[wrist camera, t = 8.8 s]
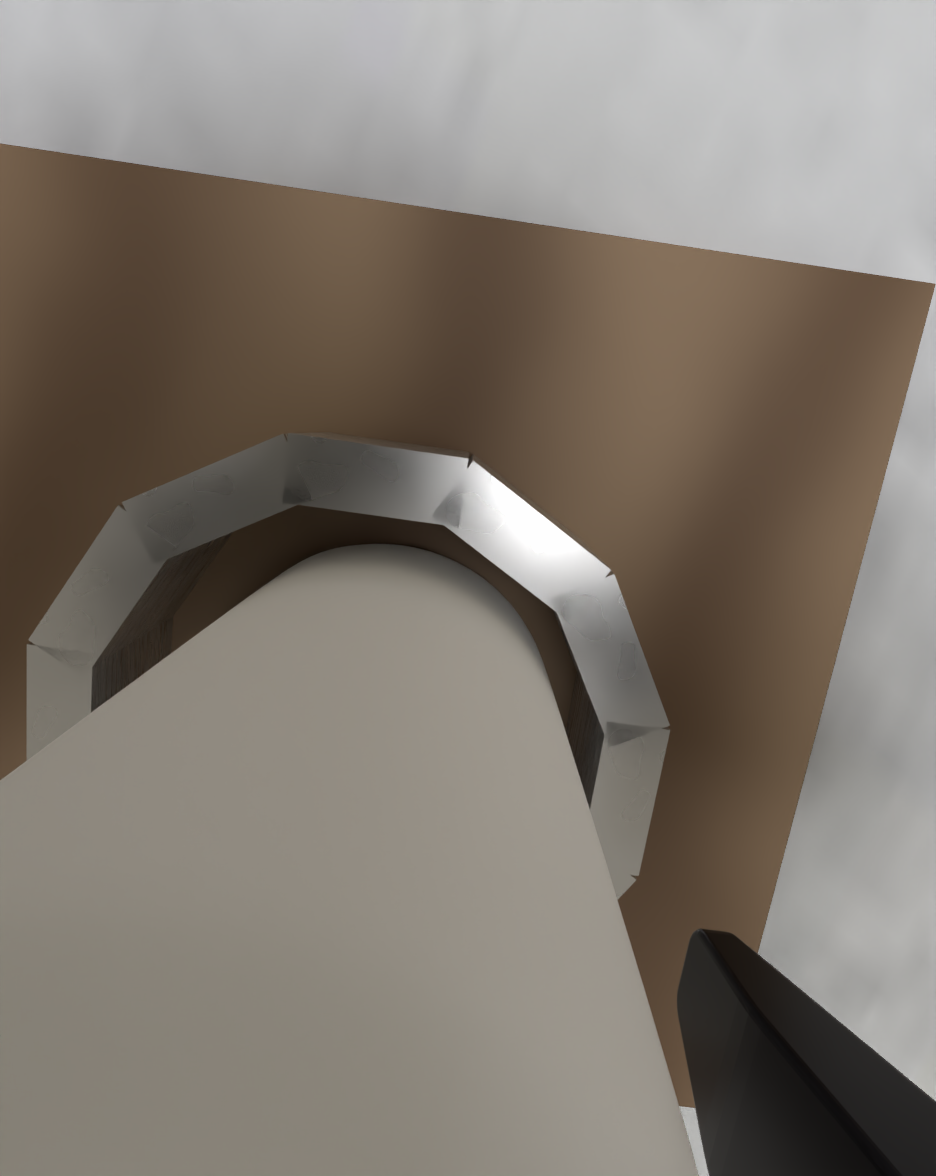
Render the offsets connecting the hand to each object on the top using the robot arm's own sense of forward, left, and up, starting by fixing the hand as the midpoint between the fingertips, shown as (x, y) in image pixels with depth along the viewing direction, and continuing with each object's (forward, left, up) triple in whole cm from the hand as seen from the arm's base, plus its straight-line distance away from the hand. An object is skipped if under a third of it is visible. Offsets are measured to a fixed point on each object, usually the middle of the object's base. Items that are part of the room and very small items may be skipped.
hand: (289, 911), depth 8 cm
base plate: (0, 0, -8) cm, 8 cm away
